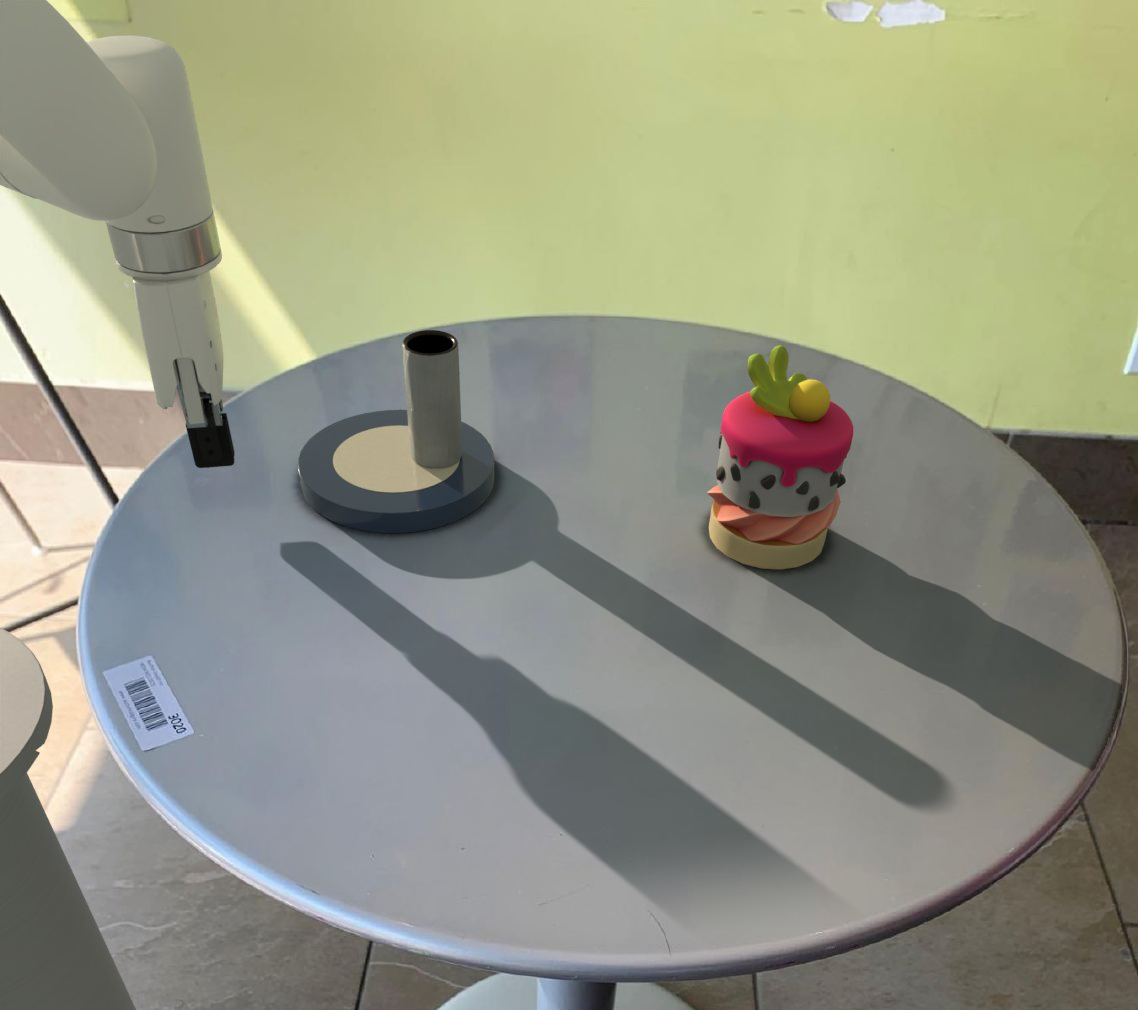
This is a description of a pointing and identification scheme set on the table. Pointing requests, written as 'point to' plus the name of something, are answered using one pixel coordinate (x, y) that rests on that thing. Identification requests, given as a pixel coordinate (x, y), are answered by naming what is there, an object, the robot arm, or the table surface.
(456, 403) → the planter
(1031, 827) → the table surface
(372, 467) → the plate
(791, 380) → the cake
